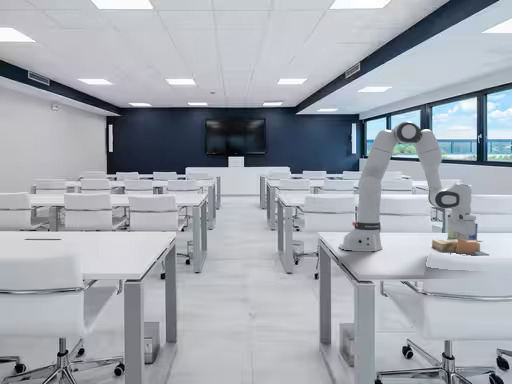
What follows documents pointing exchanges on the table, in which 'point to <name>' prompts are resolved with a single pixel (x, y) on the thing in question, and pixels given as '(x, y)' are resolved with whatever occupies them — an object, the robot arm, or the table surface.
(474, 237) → the ink cartridge box
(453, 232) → the coffee can
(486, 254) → the mat
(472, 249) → the block
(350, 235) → the robot arm
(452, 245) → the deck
